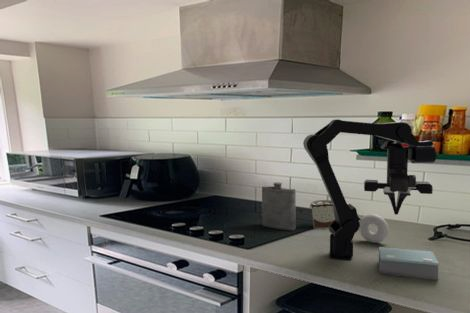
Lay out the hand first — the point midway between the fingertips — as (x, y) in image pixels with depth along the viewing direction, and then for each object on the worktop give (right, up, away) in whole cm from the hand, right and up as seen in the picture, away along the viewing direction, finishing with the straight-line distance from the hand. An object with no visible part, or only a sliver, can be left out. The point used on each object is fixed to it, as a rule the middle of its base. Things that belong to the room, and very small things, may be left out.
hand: (396, 214), depth 113 cm
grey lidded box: (-2, -14, -10) cm, 17 cm away
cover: (-2, -10, -11) cm, 15 cm away
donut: (-2, -12, +14) cm, 18 cm away
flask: (-32, -11, +33) cm, 47 cm away
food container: (-14, -10, +34) cm, 38 cm away
